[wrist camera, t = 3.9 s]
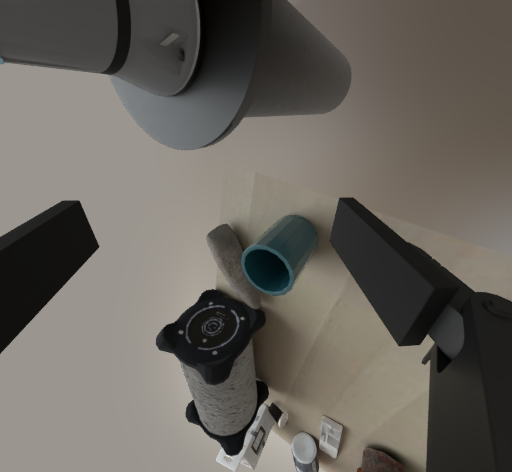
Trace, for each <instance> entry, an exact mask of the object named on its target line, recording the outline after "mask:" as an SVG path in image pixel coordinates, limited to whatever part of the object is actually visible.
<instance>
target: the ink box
mask: <svg viewBox="0 0 512 472" xmlns="http://www.w3.org/2000/svg"><path fill="white" fill-rule="evenodd" d="M268 409H269V408H268V407H267V405H264V404H262V405H261V406H260V408H259V410H258V413H257V416H256V418H255V420H254V423H253V424H252V426H251V427H250V428H249V430H248V431H247V433H246V437H245V441H244V445H243V449H242V450H241V452H240V453H239V454H238V455H235V456H228V455H226V453H225V451H224V450H223V448H221V450H220V452H219V454H218V456H217V458H216V462H219V463H220V464H222V465H224V466H225V467H227V468H229V469H231V470H232V471H234V472H235V471H237V469H238V466H239V464H240V463H242V464H244V465H246V466H248V467H249V468H251V469H253V470H254V469H255V467H256V464H257V462H258V460H259V457H260V455H261V452H262V450H263V447H264V445H265V443H266V440H267V438H268V435H269V433H270V430H271V428H272V426H273V423H274V421H275V419H274V418H273V417H272V415H271V414H270V412H269V410H268ZM225 456H228V457H230V458H232V459H233V460H232V462H230V461H229V462H227V460H226V459H225Z"/></svg>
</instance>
